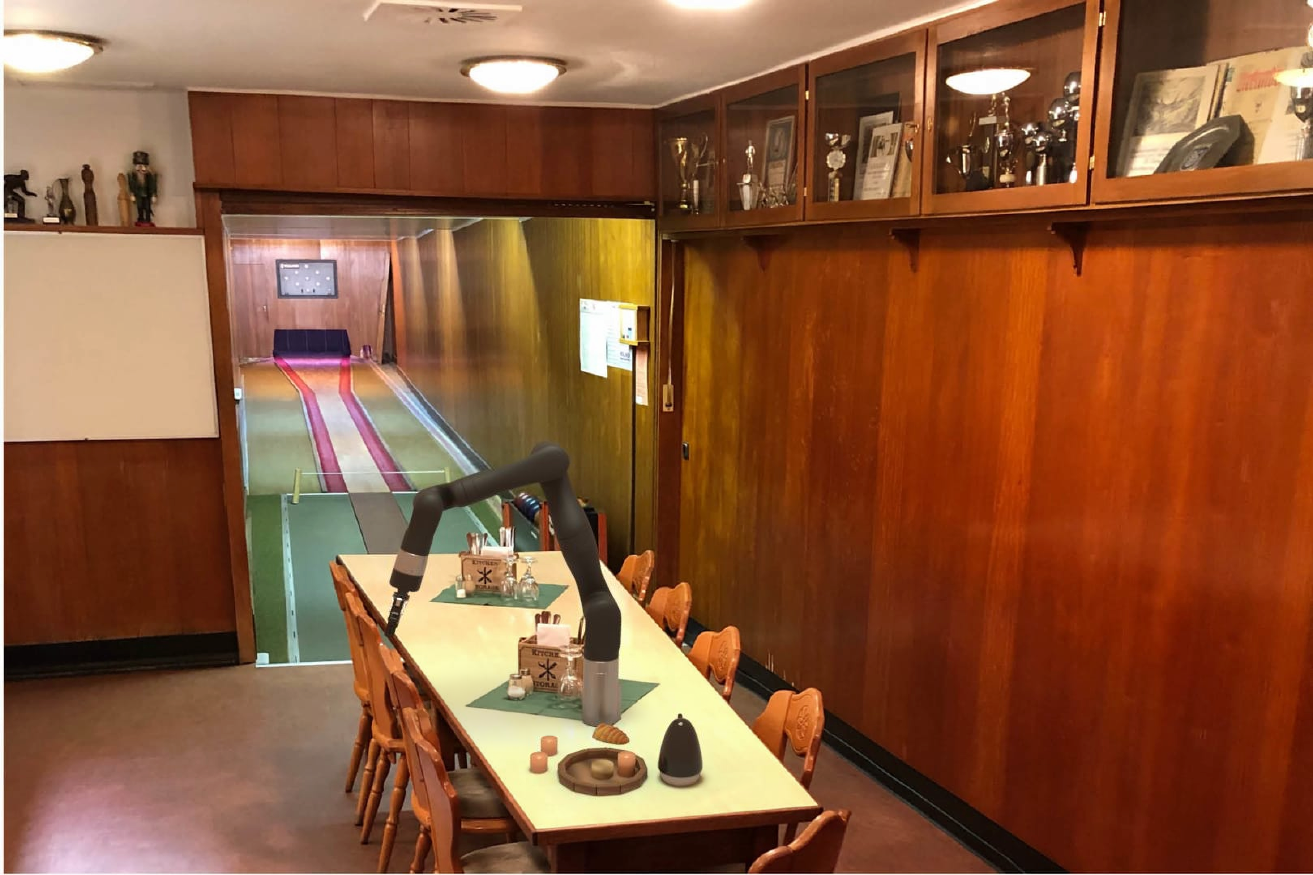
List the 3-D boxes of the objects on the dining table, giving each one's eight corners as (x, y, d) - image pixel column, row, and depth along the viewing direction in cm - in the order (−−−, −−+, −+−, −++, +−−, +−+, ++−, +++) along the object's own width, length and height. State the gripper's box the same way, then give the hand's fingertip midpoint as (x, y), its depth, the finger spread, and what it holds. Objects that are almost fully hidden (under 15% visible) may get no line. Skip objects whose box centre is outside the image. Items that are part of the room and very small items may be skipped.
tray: (609, 752, 250) (610, 738, 250) (664, 782, 235) (664, 767, 235) (541, 775, 237) (541, 760, 237) (593, 808, 222) (594, 793, 222)
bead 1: (541, 768, 241) (541, 750, 240) (550, 774, 238) (551, 756, 237) (526, 773, 238) (526, 754, 238) (536, 779, 235) (536, 760, 235)
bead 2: (551, 751, 250) (551, 733, 249) (560, 757, 247) (560, 739, 246) (537, 756, 247) (537, 738, 247) (546, 761, 244) (547, 743, 244)
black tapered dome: (700, 771, 241) (702, 709, 239) (703, 792, 231) (705, 727, 229) (656, 771, 240) (658, 709, 238) (658, 792, 230) (659, 727, 228)
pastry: (635, 743, 256) (635, 728, 255) (618, 752, 251) (618, 737, 250) (606, 733, 262) (606, 719, 261) (588, 742, 256) (589, 727, 256)
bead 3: (627, 767, 240) (628, 749, 239) (638, 773, 237) (639, 755, 236) (614, 772, 237) (614, 753, 237) (624, 778, 234) (625, 759, 234)
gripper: (421, 579, 246) (402, 644, 247) (426, 566, 260) (408, 627, 261) (390, 571, 245) (371, 636, 246) (397, 558, 259) (379, 620, 260)
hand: (390, 631), depth 253 cm, fingers open, 8 cm apart
